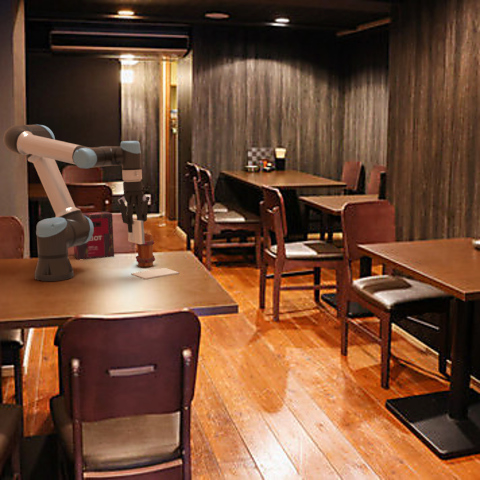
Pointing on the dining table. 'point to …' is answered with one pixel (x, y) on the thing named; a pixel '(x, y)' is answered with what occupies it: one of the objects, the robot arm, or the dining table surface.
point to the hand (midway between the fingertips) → (136, 240)
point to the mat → (154, 273)
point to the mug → (146, 251)
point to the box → (98, 238)
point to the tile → (138, 232)
